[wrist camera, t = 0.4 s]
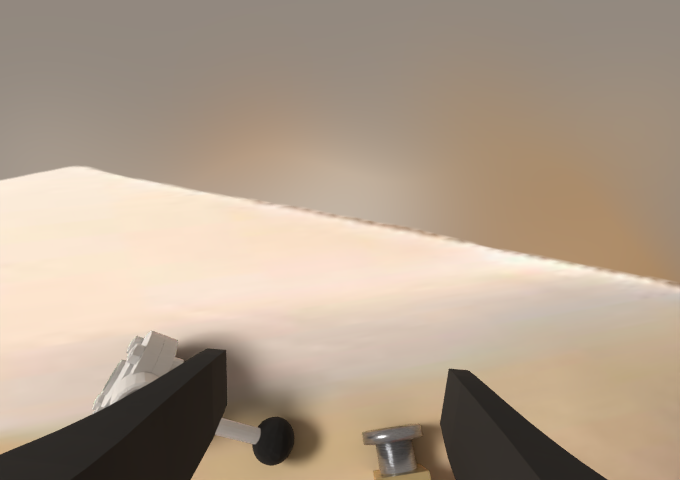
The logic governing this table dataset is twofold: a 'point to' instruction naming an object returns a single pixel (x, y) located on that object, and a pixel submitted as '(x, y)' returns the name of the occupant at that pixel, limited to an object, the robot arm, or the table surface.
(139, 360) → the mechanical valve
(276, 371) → the table surface
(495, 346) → the table surface
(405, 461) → the valve pipe
